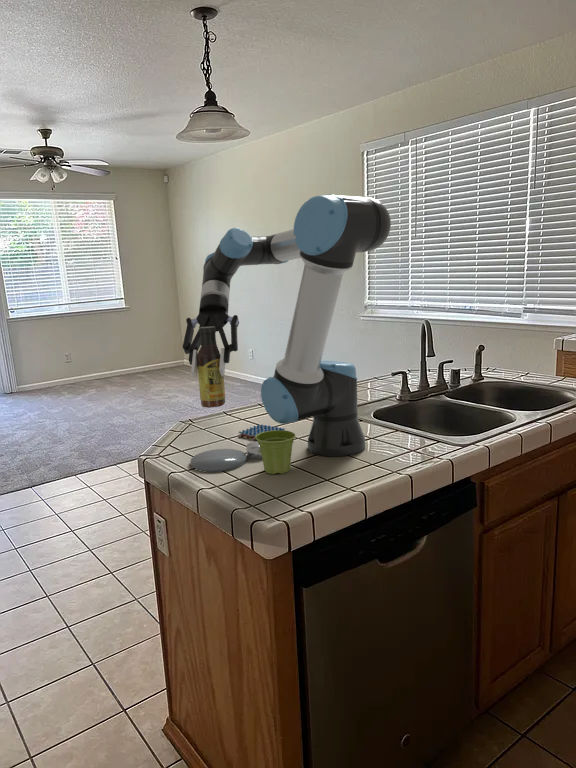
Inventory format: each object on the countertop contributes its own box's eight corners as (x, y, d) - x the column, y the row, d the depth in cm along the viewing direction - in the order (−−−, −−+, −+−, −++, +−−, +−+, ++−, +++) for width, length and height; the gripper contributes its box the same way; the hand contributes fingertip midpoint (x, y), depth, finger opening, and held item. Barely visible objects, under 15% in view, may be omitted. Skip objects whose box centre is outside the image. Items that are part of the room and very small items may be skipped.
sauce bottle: (213, 409, 138) (204, 328, 134) (196, 407, 142) (187, 328, 138) (231, 403, 143) (224, 325, 139) (214, 401, 147) (206, 325, 143)
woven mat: (264, 444, 157) (264, 437, 157) (237, 438, 164) (236, 431, 164) (288, 434, 165) (287, 427, 165) (261, 429, 172) (260, 423, 171)
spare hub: (274, 453, 148) (273, 442, 148) (262, 460, 143) (262, 449, 142) (254, 451, 151) (253, 440, 150) (242, 458, 146) (241, 447, 145)
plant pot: (275, 460, 142) (273, 427, 140) (304, 467, 136) (303, 433, 134) (249, 472, 135) (247, 437, 133) (280, 480, 129) (277, 444, 127)
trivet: (256, 456, 146) (256, 451, 146) (226, 475, 134) (226, 470, 134) (212, 450, 153) (211, 446, 152) (179, 468, 140) (179, 463, 140)
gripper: (252, 309, 152) (249, 380, 139) (182, 313, 154) (173, 384, 141) (248, 289, 146) (244, 362, 133) (175, 294, 147) (165, 366, 135)
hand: (207, 373), depth 137 cm, fingers closed on sauce bottle, 6 cm apart
